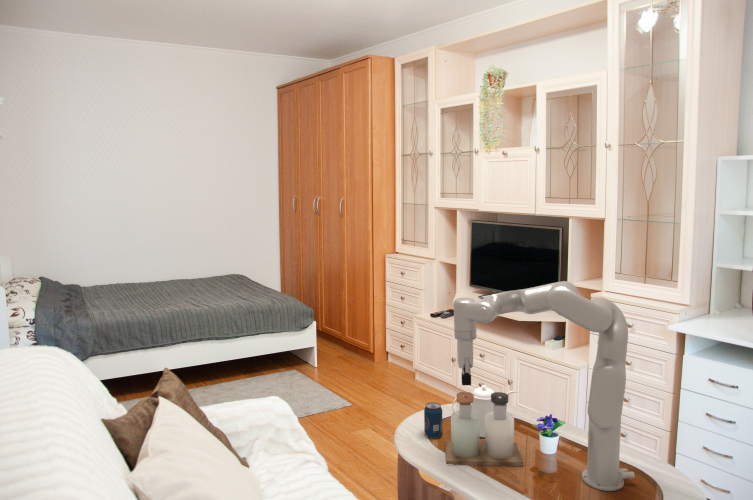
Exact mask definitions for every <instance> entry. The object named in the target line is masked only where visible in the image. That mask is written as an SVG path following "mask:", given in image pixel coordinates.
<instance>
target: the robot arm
mask: <svg viewBox="0 0 753 500" xmlns="http://www.w3.org/2000/svg"><path fill="white" fill-rule="evenodd" d="M550 311H553V312H555V313H556V314H558V315H560V316H561V317H563V318H565V319H567V321H570V322H572V323H573V324H576V325H578V326H579V327H581V328H583V329H584V330H586V331H589V332H592V333H597V334H598V339H597V351H596V355H595V356H596V357H595V361H594V364H593V366H592V367H593V368H592V373H591V380H590V389H589V395H588V397H589V398H588V405H587V415H588V433H587V459H586V460H587V463H586V468H585V469H584V470H582V472H581V479H582V481H583V482H584V483H585V484H586V485H588V486H589V487H591V488H593V489H597V490H599V491H600V490H601V491H605V492H613V491H618V490H620V489H622V488H623V487H624V486H625V485H624V483H625V481H624V480H625V479H627V478H628V479H635V477H636V476H635V475H636V474H635V472H634V471H629V470H628V468H620V448H621V430H622V425H621V424H622V414H623V408H624V407H623V406H624V400H625V394H626V393H625V392H626V382H627V372H626V364H627V363H626V362H627V361H626V359H627V353H628V342H629V328H628V322H627V320H626V317H625V315H624V313H623V311H622V310H621V309H620V307H618V306H617V305H616V304H615V303H614V302H612V301H611V300H610V299H607V298H604V297H601V296H600V297H599V296H597V297H592V298H591V299H588V298H586V297H584V296H582V295H581V294H579V293H578V289H577V287H576V286H575V284H573V283H572V282H570V281H567V280H566V281H565V280H562V281H557V282H551V283H547V284H546V283H545V284H542V285H539V286H534V287H529V288H528V287H527V288H523V289H516V290H514V289H513V290H508V291H502V292H498V293H493V294H489V295H485V296H484V297H483V298H482V299H481V300H479V301H476V300H475V299H474V298H471V297H458V298H456V299H454V300H453V326H454V329H453V330H454V331H453V332H454V333H453V335H454V339H455V340H457V342H456V343H457V344H456V347H457V348H456V349H457V353H456V355H457V356H456V357H457V358H456V359H457V362H456V363H457V366H458V369H461V385H462V386H472V373H471V369H473V367H474V341H475V340H476V339H477V323H481V324H489V323H491V322H493V321H494V320H495V319H496V318H497V316H499V315H504V314H509V313H515V312H517V313H519V312H521V313H524V314H526V315H534V314H535V315H536V314H539V313H546V312H550Z"/></svg>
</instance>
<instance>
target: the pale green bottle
mask: <svg viewBox="0 0 753 500" xmlns="http://www.w3.org/2000/svg"><path fill="white" fill-rule="evenodd" d="M471 405H472V403H470V404H461V403H459V404H458V410H456V411H454V412H452V413H451V414H450V441H451V452H452V453H453V454H454V455H455V456H457V457H461V458H472V457H475V456H477V455H478V454H479V442H480V437H479V415H478V414H477V413H475V412H472V411H471Z"/></svg>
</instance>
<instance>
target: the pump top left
mask: <svg viewBox="0 0 753 500" xmlns="http://www.w3.org/2000/svg"><path fill="white" fill-rule="evenodd" d="M494 392H495V393H492V394H491V402H493V403H495V404H497V405H502V404H507V405H508V403H509V395H508V394H507V393H506V392H501V391H494Z"/></svg>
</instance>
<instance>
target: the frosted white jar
mask: <svg viewBox="0 0 753 500" xmlns="http://www.w3.org/2000/svg"><path fill="white" fill-rule="evenodd" d="M484 442H485V453H486V454H487V455H489V456H490V457H493V458H498V459H506V458H510V457H512V456H513V454H514V443H515V416H514V415H513V414H512V413H509V412H507V409H506V404H502V405H497V404H495V403H493V411H491V412H488V413H487V414H486V415H485V438H484Z"/></svg>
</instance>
